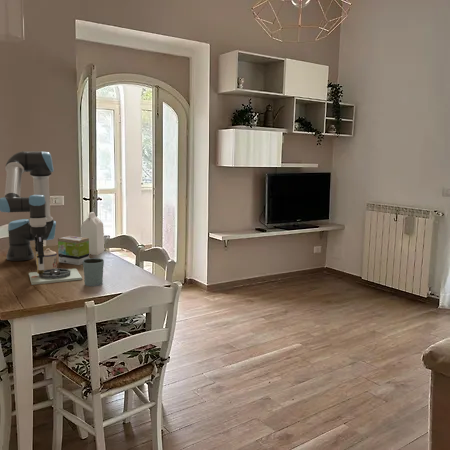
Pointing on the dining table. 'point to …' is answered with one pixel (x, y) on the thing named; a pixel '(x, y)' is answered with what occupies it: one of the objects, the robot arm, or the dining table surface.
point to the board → (39, 280)
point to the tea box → (73, 249)
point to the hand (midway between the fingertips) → (40, 266)
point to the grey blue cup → (93, 271)
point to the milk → (93, 234)
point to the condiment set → (50, 259)
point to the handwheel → (52, 272)
